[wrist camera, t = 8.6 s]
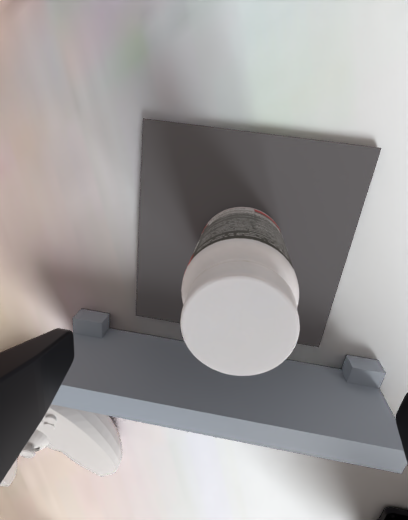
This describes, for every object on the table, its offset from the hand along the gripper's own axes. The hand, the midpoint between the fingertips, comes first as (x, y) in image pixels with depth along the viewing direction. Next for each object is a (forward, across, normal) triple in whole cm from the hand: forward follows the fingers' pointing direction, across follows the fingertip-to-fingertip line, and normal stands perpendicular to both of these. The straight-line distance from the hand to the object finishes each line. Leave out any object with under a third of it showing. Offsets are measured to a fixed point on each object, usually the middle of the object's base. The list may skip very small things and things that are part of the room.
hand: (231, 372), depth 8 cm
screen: (+11, 0, +8) cm, 14 cm away
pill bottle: (+11, 0, 0) cm, 11 cm away
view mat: (+11, 0, 0) cm, 11 cm away
